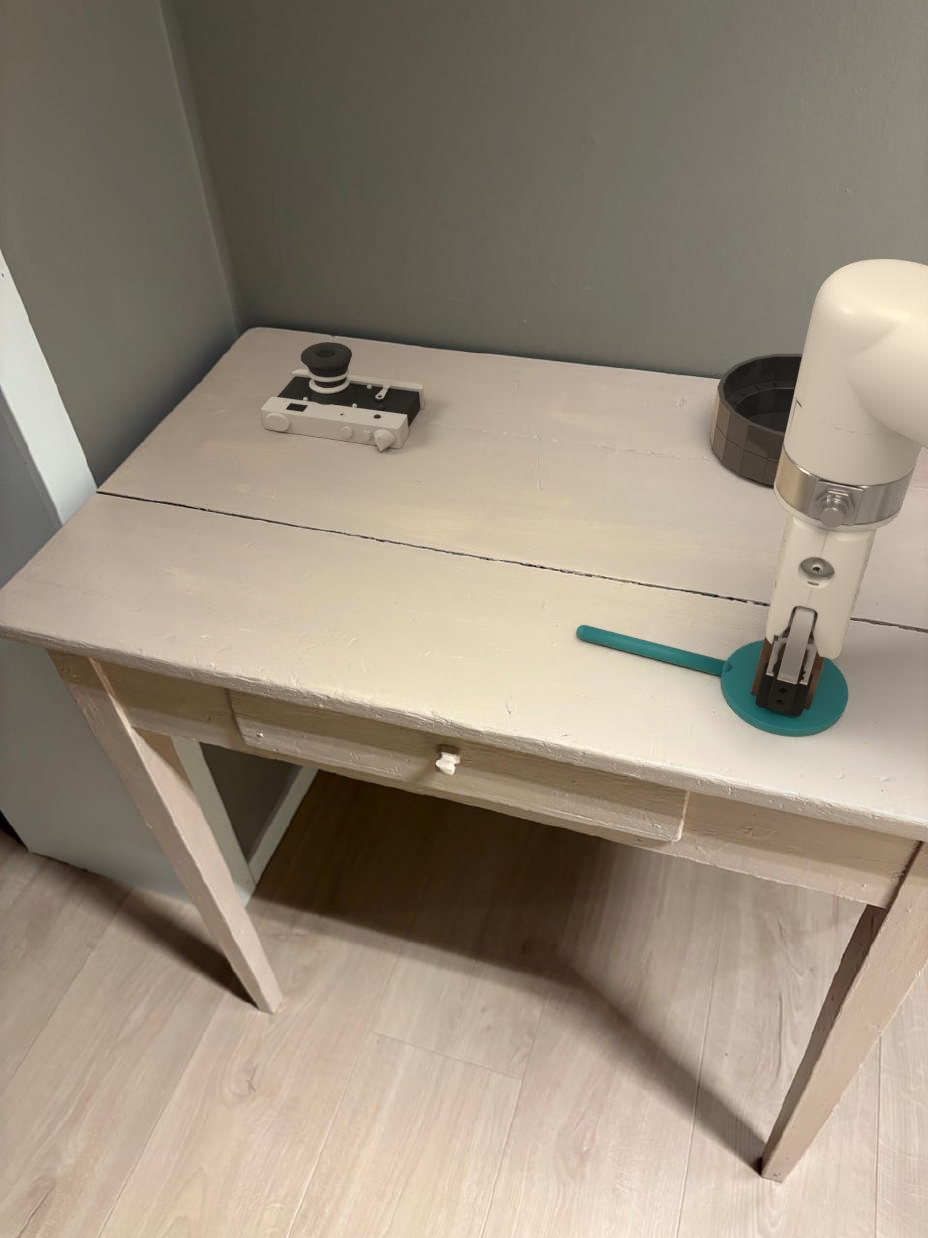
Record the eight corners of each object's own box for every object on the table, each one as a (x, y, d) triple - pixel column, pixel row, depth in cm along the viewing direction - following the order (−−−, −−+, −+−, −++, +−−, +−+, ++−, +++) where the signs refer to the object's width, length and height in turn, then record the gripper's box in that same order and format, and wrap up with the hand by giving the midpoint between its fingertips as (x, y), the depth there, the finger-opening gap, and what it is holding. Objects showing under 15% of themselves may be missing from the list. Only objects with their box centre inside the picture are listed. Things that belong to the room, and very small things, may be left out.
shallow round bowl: (877, 421, 96) (893, 367, 92) (859, 507, 87) (875, 451, 82) (727, 395, 101) (736, 343, 97) (694, 474, 91) (702, 420, 87)
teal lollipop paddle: (853, 664, 73) (857, 653, 72) (837, 751, 67) (840, 740, 66) (593, 599, 79) (594, 589, 79) (557, 674, 74) (558, 663, 73)
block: (818, 670, 72) (830, 630, 69) (809, 710, 69) (821, 670, 66) (761, 655, 73) (770, 616, 70) (750, 694, 70) (759, 655, 67)
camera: (423, 344, 98) (388, 393, 91) (428, 404, 102) (395, 456, 96) (287, 328, 101) (244, 375, 95) (298, 387, 106) (258, 435, 100)
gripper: (893, 578, 51) (821, 781, 64) (920, 412, 62) (854, 613, 75) (750, 547, 54) (708, 749, 66) (801, 393, 65) (757, 590, 77)
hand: (786, 675), depth 70 cm, fingers open, 5 cm apart
